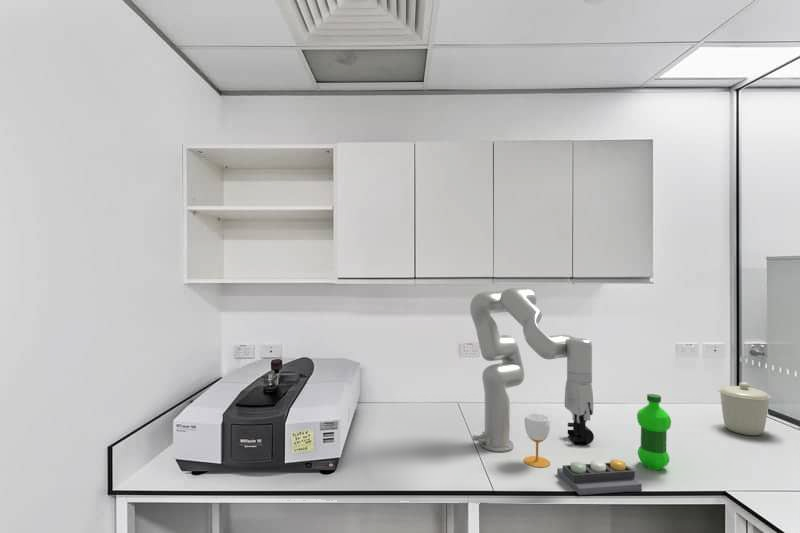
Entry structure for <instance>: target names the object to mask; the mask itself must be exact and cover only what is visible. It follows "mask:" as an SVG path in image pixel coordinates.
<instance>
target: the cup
mask: <svg viewBox="0 0 800 533" xmlns="http://www.w3.org/2000/svg"><path fill="white" fill-rule="evenodd" d="M524 427H525V428H524V429H525V431H526V434H527V437H528V438H529V439H530V440H531V441H532V442H534V443H535V455H531V456H530V455H529V456H525V458H524V459H523V462H524V463H525V464H527V466H530V467H534V468H548V467H549V466H550V465H551V462H550V460H548V459H547V458H545V457H543V456H542V457H541V456H539V443H542V442H544V441H545V440H546V439H547V438H548V436H549V434H550V431H551V419H550V417H549V416H548V415H546V414H540V413H528V414H526V415H525V417H524Z"/></svg>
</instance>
